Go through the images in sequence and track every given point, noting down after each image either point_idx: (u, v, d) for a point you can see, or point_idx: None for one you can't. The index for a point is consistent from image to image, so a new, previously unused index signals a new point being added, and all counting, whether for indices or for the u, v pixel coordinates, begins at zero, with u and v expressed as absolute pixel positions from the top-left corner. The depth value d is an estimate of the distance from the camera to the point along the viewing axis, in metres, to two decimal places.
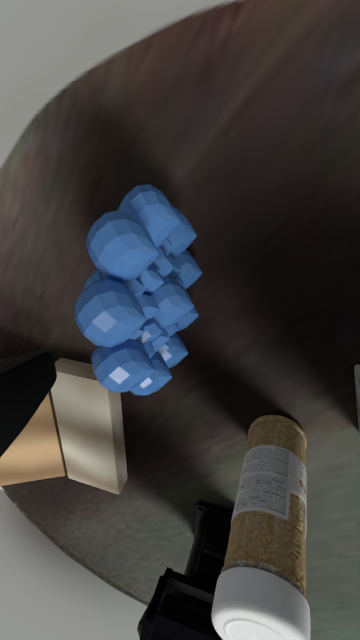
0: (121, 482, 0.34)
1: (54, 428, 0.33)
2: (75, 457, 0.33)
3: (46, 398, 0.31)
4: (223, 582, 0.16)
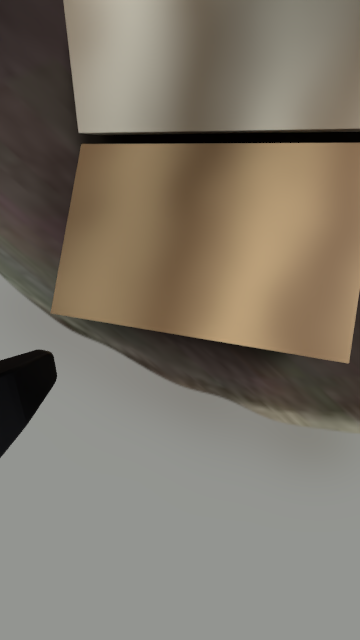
0: None
1: (216, 145, 0.15)
2: (295, 90, 0.13)
3: (141, 148, 0.16)
4: None
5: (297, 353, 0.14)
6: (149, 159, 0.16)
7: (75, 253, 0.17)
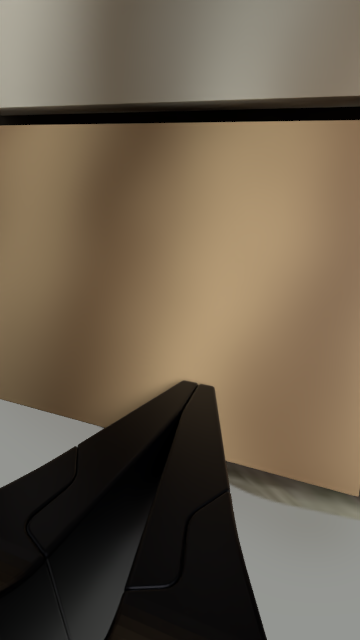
0: None
1: (152, 126, 0.10)
2: (270, 31, 0.08)
3: (45, 131, 0.11)
4: None
5: (271, 471, 0.08)
6: (55, 148, 0.11)
7: None
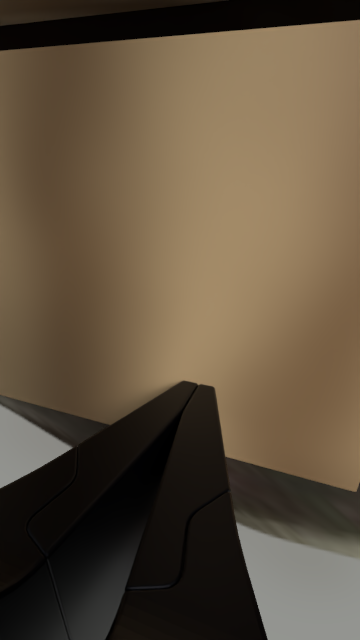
0: None
1: (77, 51, 0.06)
2: None
3: None
4: None
5: (273, 468, 0.08)
6: None
7: None
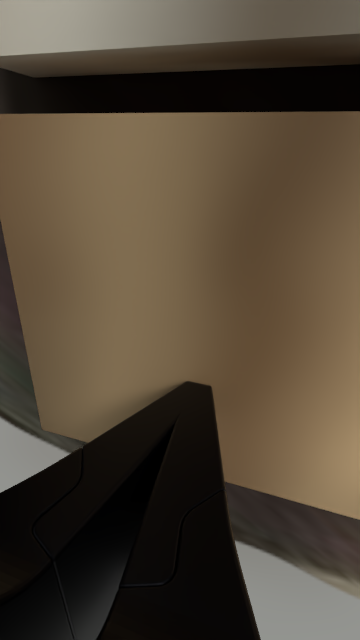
0: None
1: (338, 118, 0.05)
2: None
3: (127, 126, 0.06)
4: None
5: None
6: (152, 160, 0.06)
7: (50, 350, 0.09)
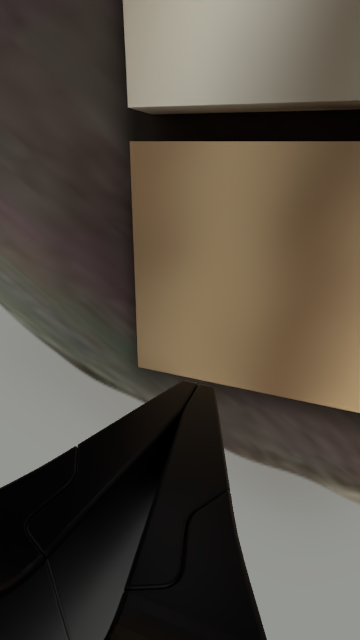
0: None
1: None
2: None
3: (231, 149, 0.10)
4: None
5: None
6: (246, 170, 0.10)
7: (154, 302, 0.13)
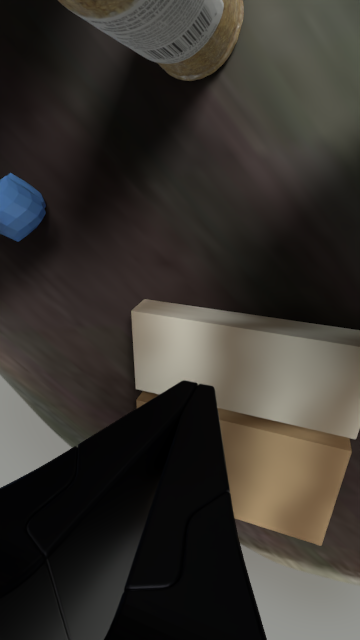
0: None
1: (237, 425, 0.21)
2: (295, 407, 0.20)
3: None
4: None
5: (292, 536, 0.24)
6: None
7: None
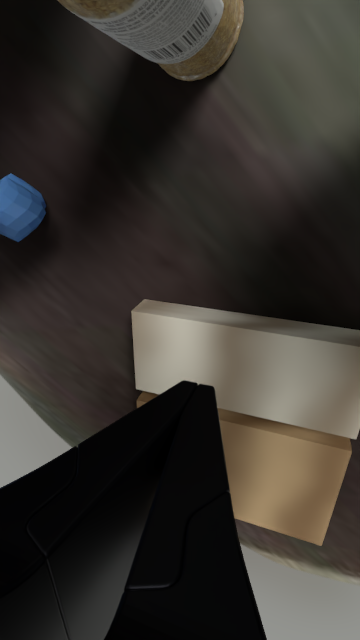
0: None
1: (238, 425, 0.21)
2: (295, 407, 0.20)
3: None
4: None
5: (293, 536, 0.24)
6: None
7: None
